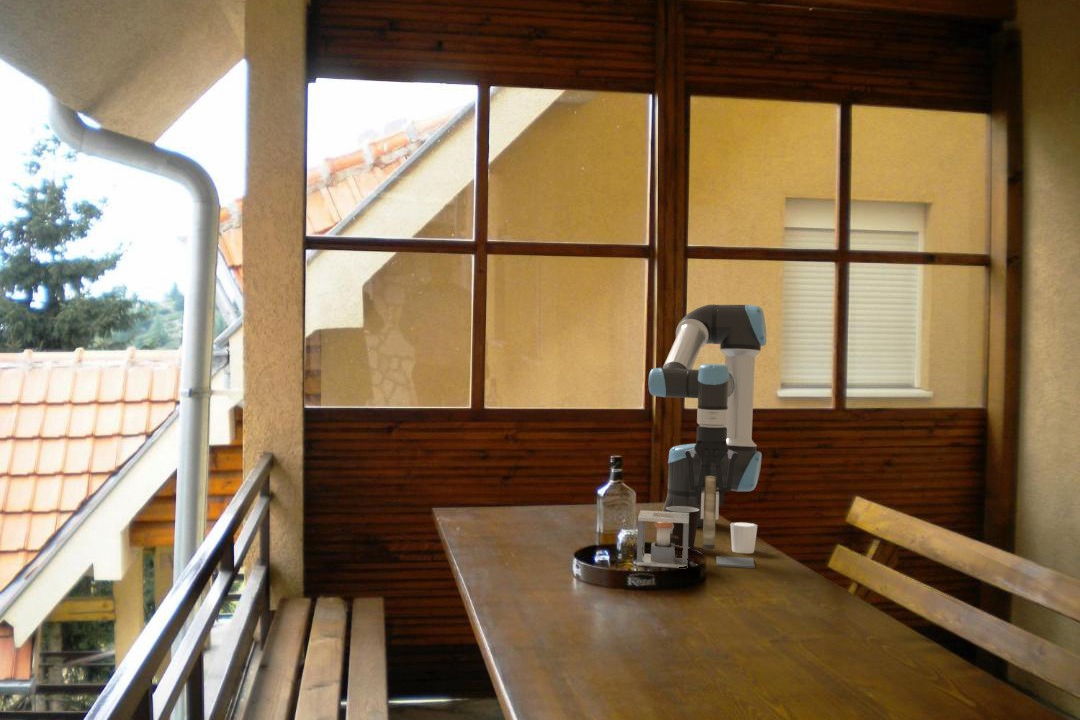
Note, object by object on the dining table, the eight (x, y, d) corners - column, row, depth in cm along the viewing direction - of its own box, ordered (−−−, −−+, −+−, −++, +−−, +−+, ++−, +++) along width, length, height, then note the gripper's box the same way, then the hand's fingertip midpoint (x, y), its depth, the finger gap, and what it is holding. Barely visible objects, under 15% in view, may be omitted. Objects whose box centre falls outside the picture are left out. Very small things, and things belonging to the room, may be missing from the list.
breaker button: (654, 542, 255) (655, 519, 254) (672, 543, 254) (673, 520, 254) (653, 546, 250) (654, 522, 250) (671, 547, 250) (672, 523, 249)
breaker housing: (639, 556, 258) (640, 510, 258) (687, 559, 256) (689, 512, 256) (636, 565, 248) (638, 517, 248) (687, 568, 246) (688, 520, 246)
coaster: (716, 558, 259) (716, 556, 259) (752, 560, 257) (752, 558, 257) (716, 566, 250) (716, 564, 250) (754, 568, 248) (754, 566, 248)
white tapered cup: (749, 555, 263) (750, 527, 263) (724, 551, 267) (725, 524, 267) (761, 551, 269) (761, 524, 268) (736, 547, 273) (737, 520, 273)
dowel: (702, 546, 264) (704, 475, 263) (714, 546, 263) (716, 476, 262) (702, 548, 261) (704, 477, 260) (714, 549, 260) (716, 478, 259)
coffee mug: (700, 551, 266) (701, 512, 266) (666, 550, 267) (667, 511, 266) (694, 541, 278) (695, 504, 278) (662, 540, 278) (663, 503, 278)
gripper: (679, 425, 258) (677, 519, 259) (745, 428, 256) (742, 522, 257) (680, 422, 265) (677, 513, 266) (743, 425, 263) (741, 516, 264)
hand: (709, 517), depth 261 cm, fingers closed on dowel, 3 cm apart
